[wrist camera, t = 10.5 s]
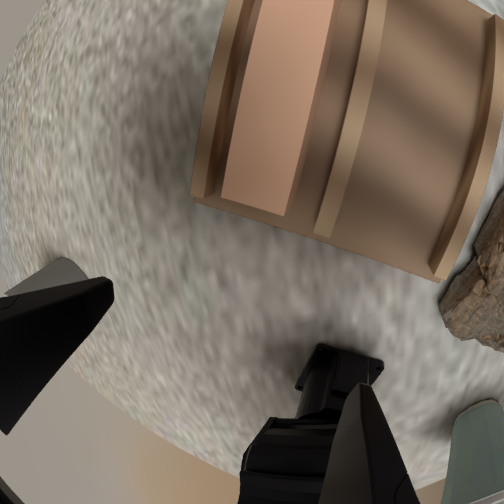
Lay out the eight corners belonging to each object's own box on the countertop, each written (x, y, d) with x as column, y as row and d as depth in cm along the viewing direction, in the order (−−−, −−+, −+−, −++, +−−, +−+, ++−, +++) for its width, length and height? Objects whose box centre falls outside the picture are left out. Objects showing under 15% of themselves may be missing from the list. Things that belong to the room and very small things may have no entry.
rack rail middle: (331, 229, 17) (329, 238, 15) (316, 224, 17) (313, 232, 16) (388, -23, 8) (390, -35, 7) (372, -28, 9) (373, -39, 7)
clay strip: (294, 202, 17) (283, 216, 14) (240, 186, 18) (220, 197, 15) (345, -23, 9) (342, -47, 7) (289, -31, 10) (277, -53, 8)
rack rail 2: (439, 269, 15) (445, 280, 14) (427, 264, 15) (433, 275, 14) (497, 28, 7) (507, 22, 5) (485, 20, 7) (494, 14, 6)
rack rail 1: (214, 193, 18) (203, 198, 17) (201, 189, 19) (189, 195, 17) (266, -42, 10) (259, -53, 9) (252, -42, 10) (244, -52, 9)
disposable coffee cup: (499, 423, 19) (509, 515, 6) (430, 444, 23) (425, 542, 11) (520, 375, 16) (547, 488, 3) (438, 403, 21) (440, 532, 8)
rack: (435, 276, 17) (438, 283, 16) (200, 198, 20) (193, 201, 19) (497, 25, 7) (502, 21, 6) (253, -44, 11) (248, -50, 10)
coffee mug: (65, 307, 35) (20, 342, 26) (49, 250, 31) (-6, 282, 22) (126, 342, 32) (77, 392, 23) (111, 277, 27) (45, 327, 19)
